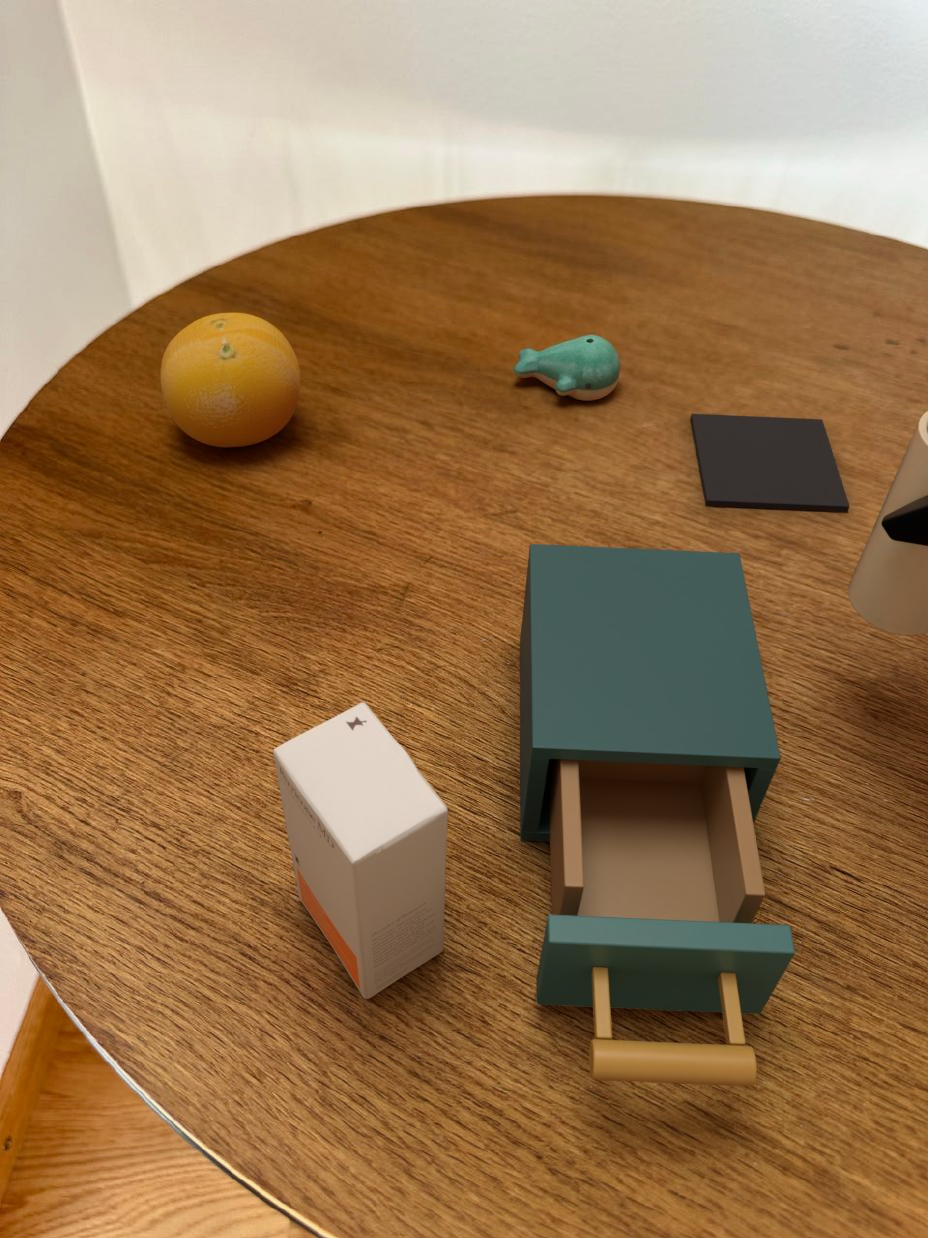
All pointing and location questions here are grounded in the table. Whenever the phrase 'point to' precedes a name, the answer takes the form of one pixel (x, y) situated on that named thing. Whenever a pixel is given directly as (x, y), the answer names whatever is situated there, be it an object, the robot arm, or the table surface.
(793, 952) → the drawer
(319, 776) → the cosmetic box
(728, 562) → the cabinet
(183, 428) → the fruit
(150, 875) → the table surface
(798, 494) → the mat
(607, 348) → the whale figurine
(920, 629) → the spice jar
